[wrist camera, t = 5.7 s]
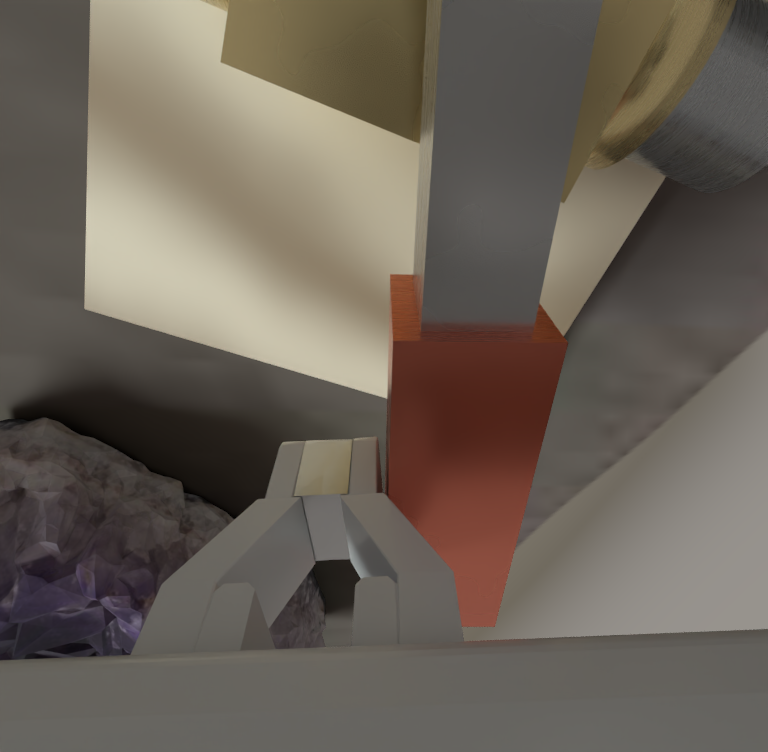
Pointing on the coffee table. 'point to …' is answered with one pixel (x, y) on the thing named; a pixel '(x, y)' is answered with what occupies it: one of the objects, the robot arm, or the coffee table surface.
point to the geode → (101, 547)
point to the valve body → (601, 92)
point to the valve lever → (482, 280)
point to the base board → (274, 204)
